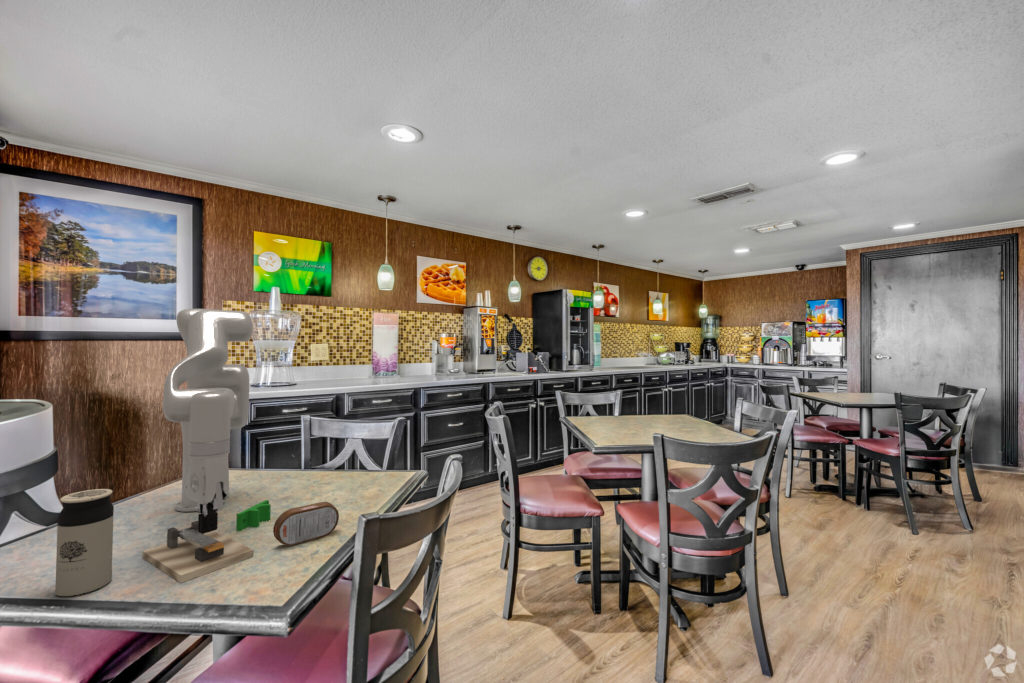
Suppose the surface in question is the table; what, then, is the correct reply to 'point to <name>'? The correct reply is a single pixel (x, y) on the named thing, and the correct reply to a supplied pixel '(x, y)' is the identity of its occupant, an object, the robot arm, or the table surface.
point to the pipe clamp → (253, 515)
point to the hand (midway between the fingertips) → (207, 530)
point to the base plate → (194, 555)
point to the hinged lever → (200, 540)
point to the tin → (305, 523)
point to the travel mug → (84, 542)
